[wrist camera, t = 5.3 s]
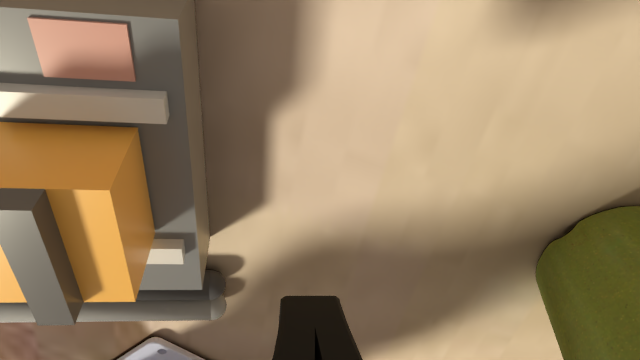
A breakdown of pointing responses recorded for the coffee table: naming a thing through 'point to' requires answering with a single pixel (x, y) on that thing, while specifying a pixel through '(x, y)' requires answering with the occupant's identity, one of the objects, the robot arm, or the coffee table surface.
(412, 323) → the coffee table surface
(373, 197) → the coffee table surface
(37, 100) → the breaker deck
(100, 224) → the breaker toggle
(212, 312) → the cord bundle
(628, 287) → the plant pot
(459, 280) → the coffee table surface
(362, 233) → the coffee table surface
